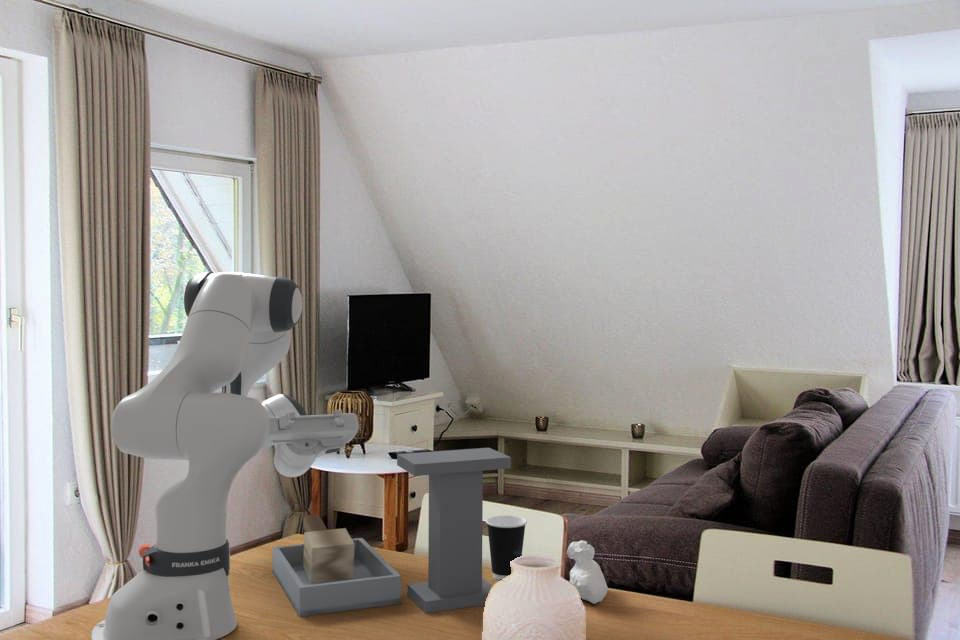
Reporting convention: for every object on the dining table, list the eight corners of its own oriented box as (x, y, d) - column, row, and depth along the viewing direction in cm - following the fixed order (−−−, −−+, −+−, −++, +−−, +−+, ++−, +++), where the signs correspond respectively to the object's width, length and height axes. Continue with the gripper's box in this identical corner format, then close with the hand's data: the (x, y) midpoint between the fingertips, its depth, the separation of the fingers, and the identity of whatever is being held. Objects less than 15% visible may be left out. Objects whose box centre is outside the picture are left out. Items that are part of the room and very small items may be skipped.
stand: (414, 614, 163) (414, 464, 161) (396, 596, 172) (397, 454, 171) (509, 601, 169) (510, 457, 168) (488, 584, 179) (489, 447, 177)
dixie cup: (529, 582, 180) (529, 525, 179) (488, 583, 179) (488, 526, 178) (523, 569, 188) (523, 514, 187) (483, 570, 187) (483, 515, 186)
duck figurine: (589, 598, 178) (553, 548, 179) (621, 575, 176) (585, 526, 177) (583, 620, 166) (544, 567, 167) (617, 597, 165) (578, 544, 166)
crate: (299, 617, 161) (299, 588, 161) (272, 572, 185) (272, 547, 185) (400, 603, 168) (400, 575, 168) (362, 562, 192) (362, 537, 192)
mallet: (310, 583, 176) (312, 548, 174) (290, 539, 193) (291, 507, 191) (352, 578, 179) (354, 543, 177) (329, 535, 196) (330, 503, 194)
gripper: (252, 427, 198) (261, 401, 186) (347, 422, 206) (362, 397, 194) (254, 456, 195) (264, 431, 184) (351, 449, 203) (366, 426, 192)
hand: (315, 414), depth 189 cm, fingers open, 8 cm apart
